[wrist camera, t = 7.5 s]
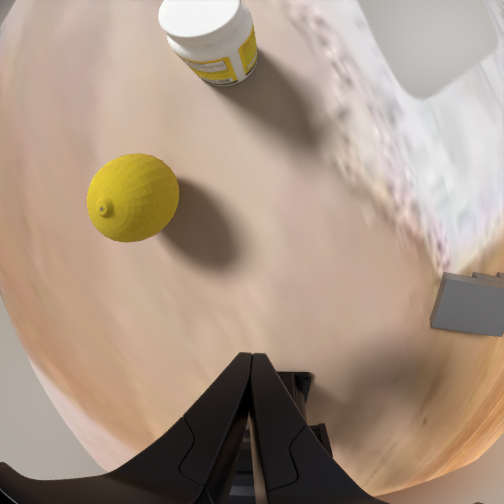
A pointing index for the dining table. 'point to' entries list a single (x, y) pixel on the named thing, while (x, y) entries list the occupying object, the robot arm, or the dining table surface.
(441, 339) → the dining table surface
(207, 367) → the dining table surface
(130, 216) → the lemon
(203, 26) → the supplement bottle
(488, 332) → the domino
